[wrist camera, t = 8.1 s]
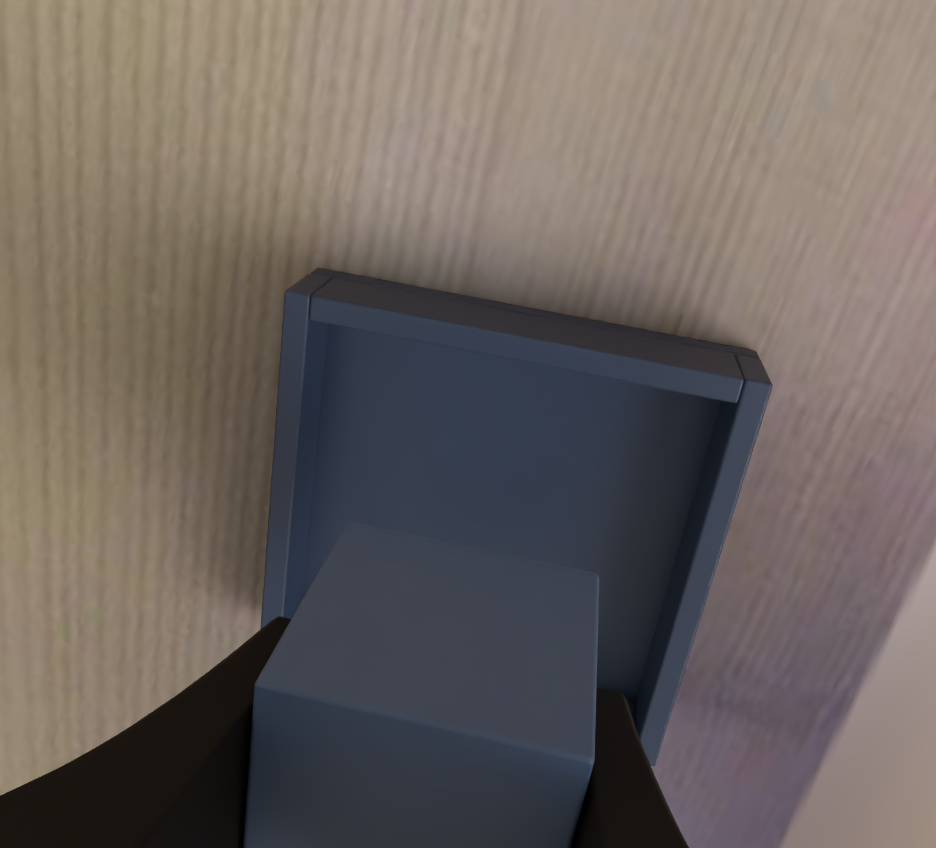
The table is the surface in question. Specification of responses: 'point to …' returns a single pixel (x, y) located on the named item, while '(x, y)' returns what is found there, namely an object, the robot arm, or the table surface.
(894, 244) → the table surface
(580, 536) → the blue tray
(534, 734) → the blue block
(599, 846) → the robot arm
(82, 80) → the table surface
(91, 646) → the table surface
